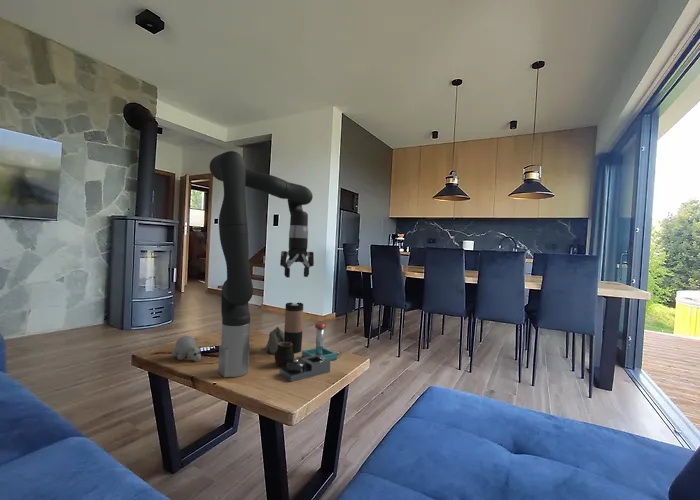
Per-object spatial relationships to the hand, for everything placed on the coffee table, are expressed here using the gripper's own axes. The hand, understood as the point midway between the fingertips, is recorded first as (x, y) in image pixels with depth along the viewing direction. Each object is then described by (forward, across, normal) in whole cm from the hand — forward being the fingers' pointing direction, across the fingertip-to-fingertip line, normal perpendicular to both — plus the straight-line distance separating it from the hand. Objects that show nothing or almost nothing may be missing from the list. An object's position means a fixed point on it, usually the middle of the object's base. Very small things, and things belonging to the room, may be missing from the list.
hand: (296, 277), depth 137 cm
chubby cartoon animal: (+32, -35, +18) cm, 51 cm away
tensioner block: (+32, -6, -18) cm, 37 cm away
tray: (+32, +7, -8) cm, 34 cm away
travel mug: (+32, +3, +6) cm, 33 cm away
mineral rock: (+32, -1, +11) cm, 34 cm away
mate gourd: (+32, -8, -7) cm, 34 cm away
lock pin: (+32, +7, -8) cm, 33 cm away
